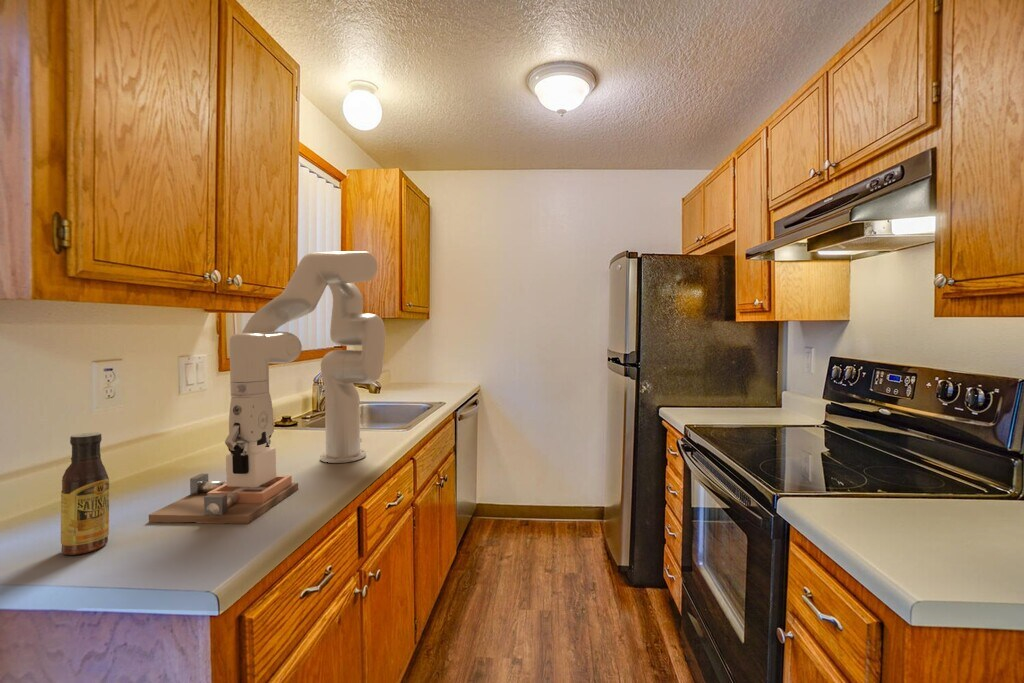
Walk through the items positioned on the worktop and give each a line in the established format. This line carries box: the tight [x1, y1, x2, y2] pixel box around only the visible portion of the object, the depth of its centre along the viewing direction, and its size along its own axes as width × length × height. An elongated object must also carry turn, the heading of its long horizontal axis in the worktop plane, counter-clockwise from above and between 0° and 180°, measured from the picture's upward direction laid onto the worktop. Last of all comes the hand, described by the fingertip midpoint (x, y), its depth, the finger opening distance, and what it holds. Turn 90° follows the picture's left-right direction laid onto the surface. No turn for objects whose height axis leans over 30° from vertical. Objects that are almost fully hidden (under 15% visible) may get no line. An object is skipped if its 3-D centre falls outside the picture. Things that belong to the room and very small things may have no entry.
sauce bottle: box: [60, 432, 110, 556], centre depth 82 cm, size 6×6×20 cm
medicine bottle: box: [225, 432, 277, 488], centre depth 106 cm, size 7×7×12 cm
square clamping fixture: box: [148, 473, 299, 525], centre depth 103 cm, size 20×20×5 cm
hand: (252, 467), depth 106 cm, fingers closed on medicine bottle, 7 cm apart
